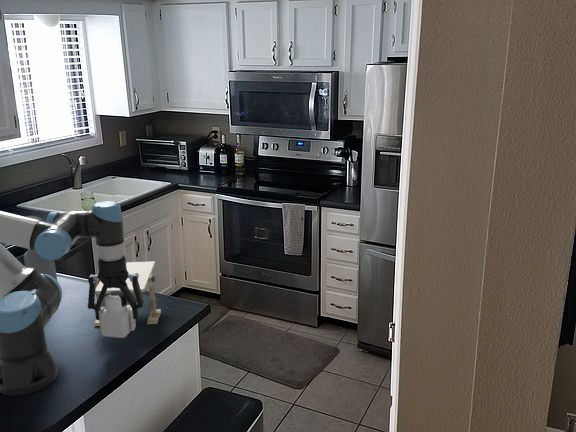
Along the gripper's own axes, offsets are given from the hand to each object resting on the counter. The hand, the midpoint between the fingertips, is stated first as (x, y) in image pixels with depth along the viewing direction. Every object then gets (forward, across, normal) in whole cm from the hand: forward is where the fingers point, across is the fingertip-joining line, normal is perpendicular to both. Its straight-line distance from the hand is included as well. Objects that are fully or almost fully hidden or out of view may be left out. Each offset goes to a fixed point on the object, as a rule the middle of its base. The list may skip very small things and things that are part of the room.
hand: (118, 328), depth 160 cm
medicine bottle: (+1, 0, 0) cm, 1 cm away
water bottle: (+7, +37, -44) cm, 58 cm away
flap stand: (+6, +1, -18) cm, 19 cm away
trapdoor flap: (-2, +1, -22) cm, 22 cm away
